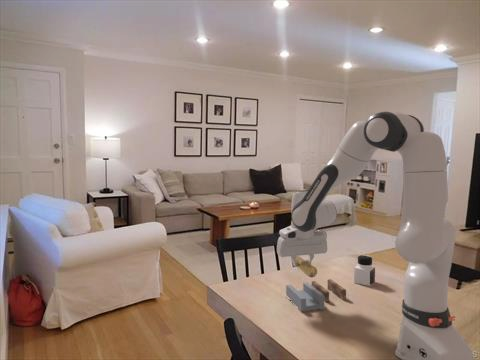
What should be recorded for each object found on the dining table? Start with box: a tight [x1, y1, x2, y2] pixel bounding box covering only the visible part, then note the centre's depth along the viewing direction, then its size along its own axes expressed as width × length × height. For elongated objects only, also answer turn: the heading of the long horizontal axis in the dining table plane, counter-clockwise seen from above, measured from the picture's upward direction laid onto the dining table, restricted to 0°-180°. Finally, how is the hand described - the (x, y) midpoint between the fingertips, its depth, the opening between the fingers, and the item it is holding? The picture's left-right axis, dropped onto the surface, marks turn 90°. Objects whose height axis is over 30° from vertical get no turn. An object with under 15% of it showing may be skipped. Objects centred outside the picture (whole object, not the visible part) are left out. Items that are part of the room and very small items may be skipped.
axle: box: [291, 256, 318, 278], centre depth 135 cm, size 14×4×4 cm, turn 15°
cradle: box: [285, 282, 325, 312], centre depth 136 cm, size 14×10×5 cm
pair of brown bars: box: [311, 278, 347, 303], centre depth 143 cm, size 12×9×4 cm
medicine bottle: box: [353, 254, 376, 287], centre depth 156 cm, size 7×7×12 cm
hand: (302, 265), depth 137 cm, fingers closed on axle, 4 cm apart
